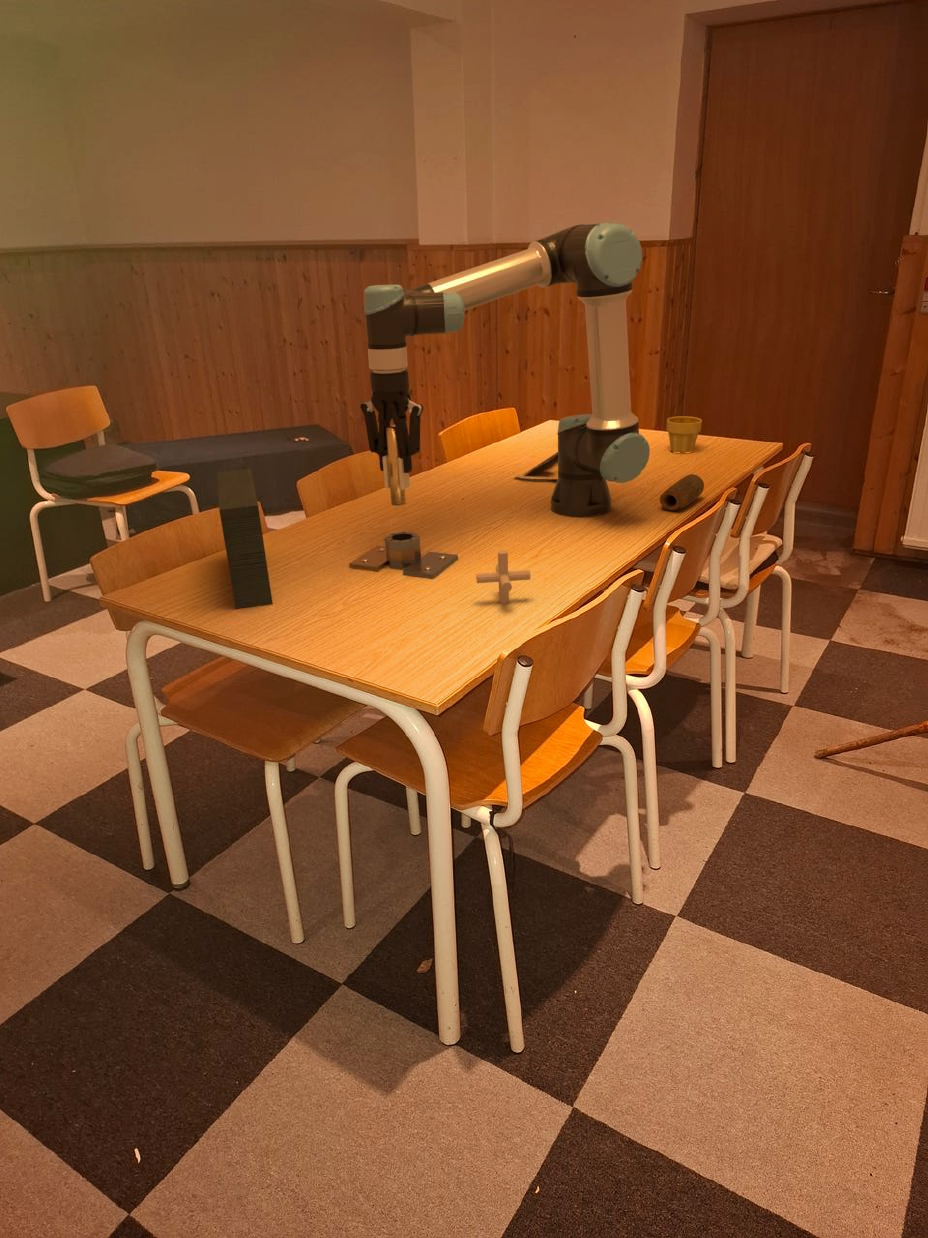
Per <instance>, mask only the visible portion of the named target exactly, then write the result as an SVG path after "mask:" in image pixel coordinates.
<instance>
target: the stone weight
mask: <svg viewBox="0 0 928 1238" xmlns="http://www.w3.org/2000/svg"><path fill="white" fill-rule="evenodd" d="M704 488H705V483H704V480H703V479H702V478H701V477H700V476H699V475H698V474H693V473H692V474H691V473H690V474H688V475H685V476H684V477H682V478H680V479H679V480H677V481H676V482H674V483H673V484H672V485H670V486H669V487H668V488H667V489H666V490H664V491H663V492H662V493H661V495H660V497H659V503H660V505H661V506H662V507H663V508H664V509H665V510H668V511H679V510H682V509H683V508H686V507H687V506H688V505H690V504H692V503H693V502H694V501H696V500H697V499H699V497H700V495H702V493H703V492H704Z"/></svg>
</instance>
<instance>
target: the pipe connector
mask: <svg viewBox="0 0 928 1238" xmlns="http://www.w3.org/2000/svg"><path fill="white" fill-rule="evenodd" d="M508 553H509V552H508V550H503V549H502V550H499V551H497V562H498V563H497V564H496V565H495V571H496V572H495V571H494V572H481V573H476V575H475V577H476V584H487V583H498V601H499V604H508V603H509V602H510V597H509V595H510V594H509V592H510V591H511V590H512V588H513V586H512V583H511V582H513V581H514V582H515V581H529V580H531V570H530V569H525V570H524V569H523V570H513V571H511V570H509V555H508Z"/></svg>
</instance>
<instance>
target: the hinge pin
mask: <svg viewBox="0 0 928 1238" xmlns="http://www.w3.org/2000/svg"><path fill="white" fill-rule="evenodd" d="M385 428H386V441H387V454H388V467H389V480H390V488H389V491H390V504H391V505H392V506H395V507H396V506H397V507H399V506H400V507H401V506H404V505H406V503H407V502H406V489H404V490H400V479H399V465H398V458H399V457H400V456H401V451H400V446H399V441H398V436H397V431H396V426H395V424H390V425H389V426H386V427H385Z"/></svg>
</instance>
